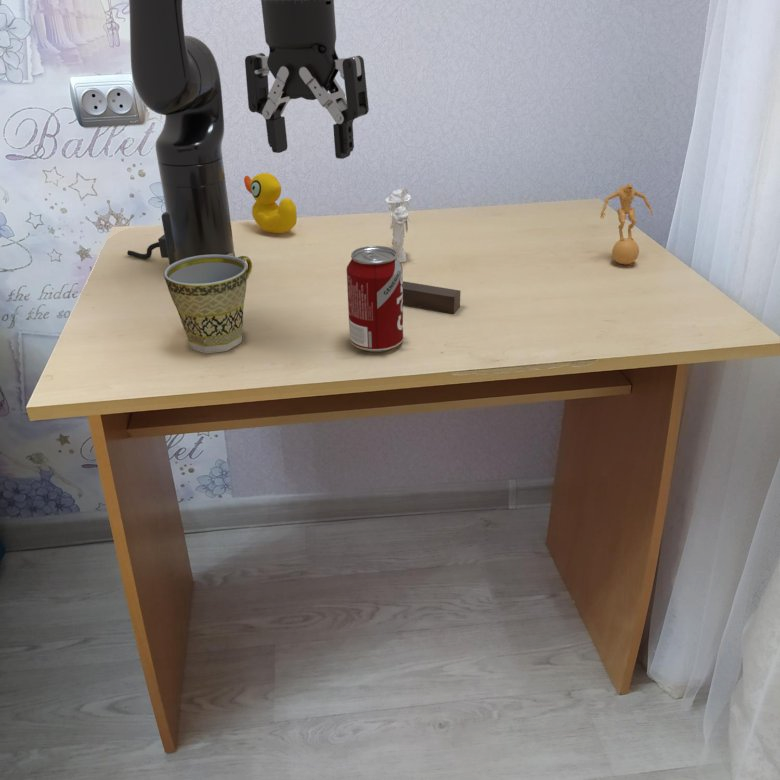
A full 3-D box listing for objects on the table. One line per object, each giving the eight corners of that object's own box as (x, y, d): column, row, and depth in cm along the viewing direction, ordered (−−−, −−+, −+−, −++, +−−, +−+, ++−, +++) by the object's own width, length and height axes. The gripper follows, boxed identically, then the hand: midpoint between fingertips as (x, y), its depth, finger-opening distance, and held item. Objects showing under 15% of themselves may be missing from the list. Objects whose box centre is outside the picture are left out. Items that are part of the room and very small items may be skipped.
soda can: (364, 360, 94) (360, 268, 88) (341, 338, 99) (336, 249, 93) (412, 347, 97) (412, 257, 91) (388, 327, 102) (386, 240, 96)
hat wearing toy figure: (413, 267, 120) (413, 191, 114) (388, 268, 120) (386, 192, 114) (408, 247, 128) (407, 175, 122) (384, 248, 127) (383, 176, 121)
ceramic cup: (218, 367, 93) (206, 290, 88) (159, 348, 98) (145, 274, 93) (285, 326, 103) (278, 255, 97) (229, 310, 107) (220, 242, 102)
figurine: (603, 270, 118) (613, 192, 112) (588, 256, 123) (597, 181, 117) (654, 266, 119) (667, 189, 113) (638, 252, 124) (649, 178, 118)
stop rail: (460, 307, 107) (460, 290, 106) (453, 314, 105) (454, 297, 104) (382, 293, 111) (381, 277, 110) (374, 300, 109) (374, 283, 108)
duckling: (239, 228, 137) (232, 172, 132) (261, 221, 141) (255, 165, 136) (283, 241, 131) (278, 183, 126) (305, 233, 135) (301, 176, 129)
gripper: (219, -2, 80) (241, 157, 88) (337, -4, 74) (348, 167, 82) (262, -7, 85) (278, 143, 93) (374, -9, 79) (381, 151, 88)
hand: (311, 154), depth 88 cm, fingers open, 8 cm apart
